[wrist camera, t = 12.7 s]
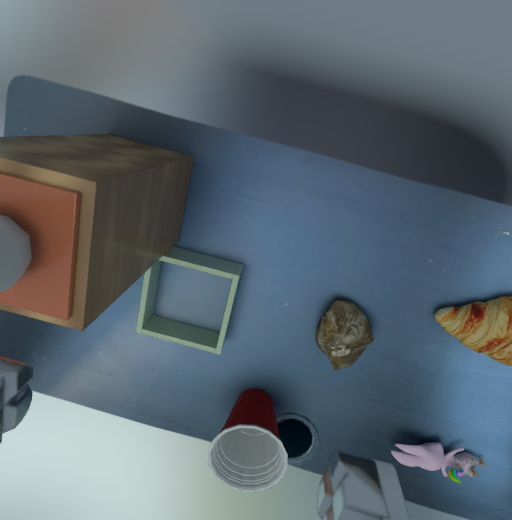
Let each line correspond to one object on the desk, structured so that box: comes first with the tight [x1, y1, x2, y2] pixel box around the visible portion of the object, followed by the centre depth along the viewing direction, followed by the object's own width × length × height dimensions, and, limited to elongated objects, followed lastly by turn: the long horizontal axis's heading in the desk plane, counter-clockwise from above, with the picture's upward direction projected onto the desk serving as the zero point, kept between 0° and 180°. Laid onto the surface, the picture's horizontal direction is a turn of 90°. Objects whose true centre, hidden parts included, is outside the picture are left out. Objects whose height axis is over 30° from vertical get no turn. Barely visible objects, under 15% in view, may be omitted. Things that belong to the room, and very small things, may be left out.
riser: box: [0, 134, 194, 331], centre depth 40 cm, size 12×12×26 cm
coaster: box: [0, 172, 81, 320], centre depth 28 cm, size 10×10×1 cm
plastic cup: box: [208, 389, 287, 492], centre depth 57 cm, size 11×11×12 cm
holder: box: [136, 246, 244, 354], centre depth 55 cm, size 13×13×4 cm
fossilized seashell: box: [316, 300, 374, 370], centre depth 54 cm, size 8×7×10 cm
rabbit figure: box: [391, 442, 487, 483], centre depth 59 cm, size 6×6×15 cm
